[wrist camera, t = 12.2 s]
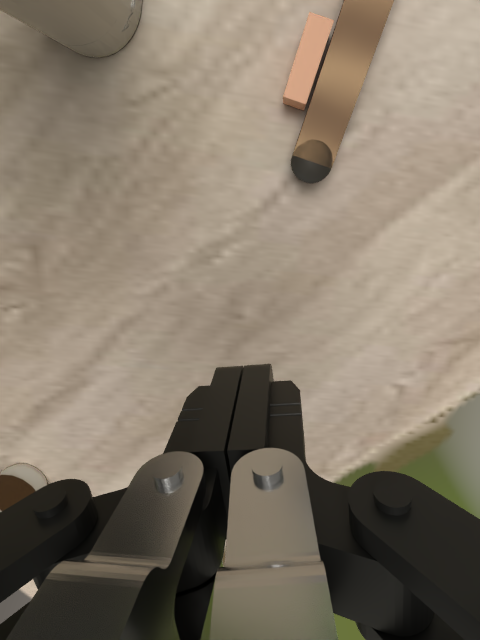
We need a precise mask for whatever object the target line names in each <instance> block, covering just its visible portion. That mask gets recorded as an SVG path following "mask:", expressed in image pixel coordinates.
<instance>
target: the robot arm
mask: <svg viewBox="0 0 480 640" xmlns="http://www.w3.org/2000/svg"><path fill="white" fill-rule="evenodd" d="M141 6H142V0H0V10H1V11H3V12H5V13H7V14H8V15H10V16H12V17H14V18H16V19H18V20H19V21H21V22H23V23H25V24H27V25H28V26H30V27H32V28H34V29H36V30H37V31H39V32H41V33H43V34H45V35H46V36H48V37H50V38H52V39H53V40H55V41H57V42H59V43H61V44H62V45H64V46H66V47H68V48H70V49H71V50H73V51H75V52H77V53H79V54H82V55H85V56H88V57H96V58H99V57H105V56H109V55H111V54H114V53H116V52H118V51H119V50H120V49H122V48H123V47H124V46H125V45H126V44H127V43H128V41H129V40H130V39H131V38H132V36H133V34H134V32H135V30H136V28H137V26H138V22H139V19H140V15H141ZM226 539H227V541H226V555H225V565H224V567H223V562H222V558H223V553H224V546H225V540H226ZM32 579H33V580H34V582H35V584H36V586H37V589H38V591H37V592H36V594H35V595H34V597H33V599H32V600H31V601H30V602H29V603H27V604H26V605H25V606H23V607H22V608H21V609H20V610H18V611H17V612H16V613H14V614H13V615H12V616H10V617H9V618H8V619H7V620H5V621H4V622H3V623H1V624H0V640H338V637H337V631H336V626H335V620H334V615H333V613H335V614H337V615H340V616H343V617H345V618H348V619H350V620H353V621H355V622H356V624H357V627H358V629H359V630H360V633H361V634H362V636H363V637H364V638H365V639H366V640H480V519H478V518H477V517H475V516H474V515H472V514H470V513H469V512H467V511H466V510H464V509H462V508H460V507H459V506H458V505H456V504H454V503H453V502H451V501H450V500H448V499H446V498H445V497H443V496H442V495H440V494H439V493H437V492H435V491H434V490H432V489H431V488H429V487H427V486H426V485H424V484H423V483H421V482H420V481H418V480H416V479H414V478H412V477H410V476H407V475H404V474H401V473H397V472H390V471H379V472H373V473H369V474H366V475H364V476H362V477H360V478H359V479H357V480H356V481H355V482H354V483H353V485H352V486H351V487H348V486H344V485H339V484H336V483H332V482H329V481H327V480H325V479H323V478H321V477H319V476H318V475H317V474H315V473H314V472H313V471H312V470H311V469H310V468H309V466H308V465H307V463H306V458H305V444H304V432H303V420H302V409H301V398H300V390H299V389H298V388H297V387H296V385H295V384H294V383H293V382H292V381H275V382H274V381H273V373H272V366H271V364H262V365H247V366H244V367H243V366H234V367H219V368H216V370H215V373H214V376H213V379H212V382H211V385H210V386H199V387H198V388H196V389H195V390H194V391H193V392H192V393H191V394H190V395H189V396H188V397H187V398H186V401H185V403H184V406H183V408H182V411H181V413H180V415H179V417H178V422H176V425H175V427H174V429H173V432H172V434H171V436H170V439H169V441H168V443H167V446H166V448H165V451H164V453H163V454H162V455H159V456H157V457H155V458H153V459H151V460H149V461H148V462H146V463H145V464H144V465H143V466H142V467H141V468H140V469H139V470H138V471H137V473H136V474H135V476H134V478H133V480H132V481H131V483H130V485H129V486H128V487H127V488H124V489H121V490H118V491H114V492H111V493H107V494H103V495H100V496H96V497H92V494H91V491H90V488H89V486H88V485H87V484H86V483H85V482H83V481H81V480H77V479H66V480H61V481H57V482H54V483H51V484H48V485H46V486H44V487H42V488H40V489H39V490H37V491H35V492H34V493H32V494H30V495H29V496H27V497H25V498H24V499H22V500H20V501H19V502H17V503H15V504H14V505H12V506H10V507H9V508H7V509H5V510H4V511H2V512H0V603H1V602H2V601H3V600H5V599H6V598H7V597H9V596H10V595H11V594H13V593H14V592H15V591H17V590H18V589H20V588H21V587H22V586H24V585H25V584H26V583H28V582H29V581H31V580H32Z"/></svg>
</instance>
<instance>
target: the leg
mask: <svg viewBox="0 0 480 640" xmlns="http://www.w3.org/2000/svg"><path fill="white" fill-rule="evenodd" d="M393 2H394V0H344V2H343V5H342V8H341V11H340V14H339V17H338V20H337V23H336V26H335V29H334V32H333V35H332V38H331V41H330V44H329V47H328V50H327V53H326V56H325V59H324V62H323V65H322V68H321V71H320V74H319V77H318V80H317V83H316V86H315V89H314V92H313V95H312V98H311V101H310V104H309V107H308V110H307V113H306V116H305V119H304V122H303V125H302V128H301V131H300V134H299V137H298V140H297V143H296V146H295V149H294V152H293V155H292V159H291V167H292V171H293V173H294V174H295V176H296V177H297V178H299V179H300V180H301V181H303V182H306V183H316V182H319V181H321V180H322V179H324V178H325V177H326V176H327V175H328V174H329V172H330V170H331V168H332V165H333V162H334V160H335V157H336V154H337V152H338V149H339V146H340V144H341V141H342V138H343V136H344V133H345V130H346V128H347V125H348V122H349V120H350V117H351V114H352V112H353V109H354V106H355V103H356V101H357V98H358V95H359V93H360V90H361V87H362V85H363V82H364V79H365V77H366V74H367V71H368V69H369V66H370V63H371V61H372V58H373V55H374V53H375V50H376V47H377V45H378V42H379V39H380V36H381V34H382V31H383V28H384V26H385V23H386V20H387V18H388V15H389V12H390V10H391V7H392V4H393Z"/></svg>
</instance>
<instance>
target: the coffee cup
mask: <svg viewBox="0 0 480 640" xmlns="http://www.w3.org/2000/svg"><path fill="white" fill-rule="evenodd" d="M46 485H47V481H46V478H45V476H44V475H43V473H42V472H41V471H40V470H38V469H37V468H35V467H34V466H31V465H28V464H20V463H19V464H16V465H13V466H10V467H8V468H6V469H5V470H3V471H2V472H1V473H0V512H2V511H4V510H5V509H7V508H9V507H10V506H12V505H14V504H15V503H17V502H19V501H20V500H22V499H24V498H25V497H27V496H29V495H30V494H32V493H34V492H35V491H37V490H39V489H40V488H42V487H44V486H46Z"/></svg>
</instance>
